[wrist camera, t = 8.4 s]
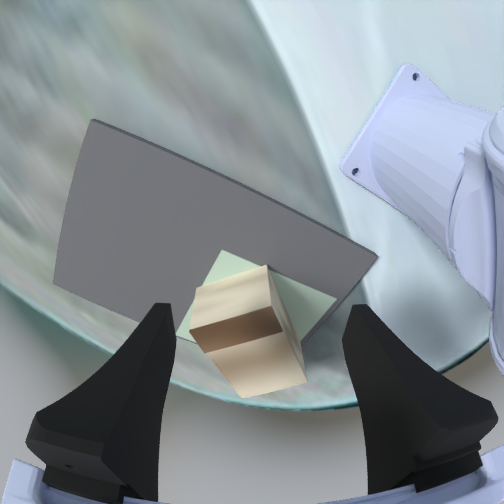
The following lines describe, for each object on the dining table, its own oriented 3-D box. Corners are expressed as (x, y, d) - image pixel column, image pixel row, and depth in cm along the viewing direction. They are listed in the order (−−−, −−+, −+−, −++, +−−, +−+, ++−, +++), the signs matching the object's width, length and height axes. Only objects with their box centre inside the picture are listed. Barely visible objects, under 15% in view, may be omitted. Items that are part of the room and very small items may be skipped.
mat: (375, 253, 21) (377, 257, 21) (278, 365, 27) (279, 370, 27) (94, 118, 16) (90, 120, 15) (55, 279, 22) (52, 283, 21)
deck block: (300, 342, 25) (308, 384, 21) (241, 358, 26) (242, 400, 22) (266, 264, 21) (271, 308, 17) (196, 287, 22) (189, 332, 18)
